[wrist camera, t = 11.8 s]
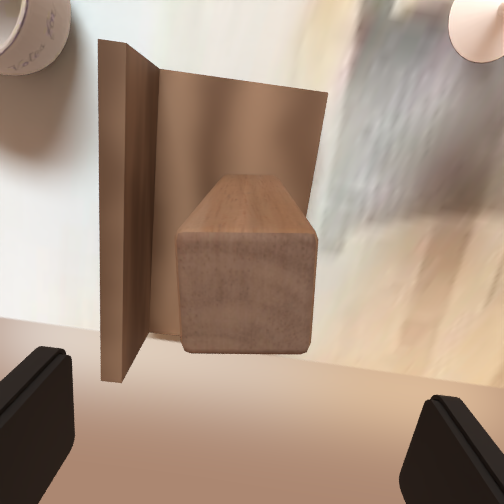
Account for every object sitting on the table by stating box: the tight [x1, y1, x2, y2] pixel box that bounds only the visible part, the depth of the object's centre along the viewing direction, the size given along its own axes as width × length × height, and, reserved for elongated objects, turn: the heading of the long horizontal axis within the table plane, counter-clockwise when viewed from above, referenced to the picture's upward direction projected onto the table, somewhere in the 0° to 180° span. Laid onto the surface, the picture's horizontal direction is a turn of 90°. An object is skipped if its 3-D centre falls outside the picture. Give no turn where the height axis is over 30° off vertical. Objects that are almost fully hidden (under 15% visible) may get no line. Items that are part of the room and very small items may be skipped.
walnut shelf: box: [98, 39, 328, 383], centre depth 28 cm, size 14×22×12 cm, turn 173°
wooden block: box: [174, 174, 318, 354], centre depth 20 cm, size 9×4×18 cm, turn 179°
